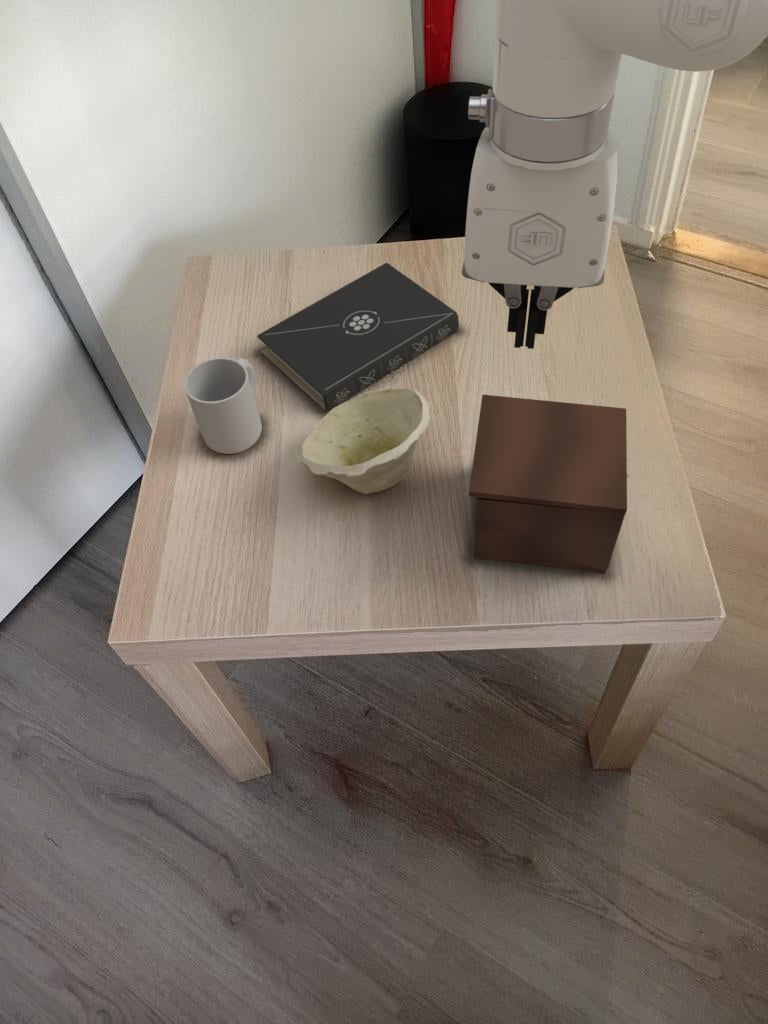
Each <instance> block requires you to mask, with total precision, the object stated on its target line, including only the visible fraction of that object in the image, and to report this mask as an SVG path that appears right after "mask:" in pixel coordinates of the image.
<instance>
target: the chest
mask: <svg viewBox="0 0 768 1024" xmlns="http://www.w3.org/2000/svg"><path fill="white" fill-rule="evenodd" d="M475 511H476V512H475V525H474V526H475V529H474V543H473V559H479V560H480V559H481V560H489V561H498V562H506V563H515V564H524V565H533V566H542V567H551V568H559V569H560V568H561V569H569V570H578V571H586V572H596V573H603V574H606V573H607V571H608V568H609V565H610V562H611V559H612V556H613V553H614V549H615V547H616V545H617V541H618V538H619V535H620V532H621V529H622V527H623V522H624V520H625V518H626V517H625V516H626V514H619V513H610V512H602V511H593V510H584V509H575V508H567V507H558V506H549V505H541V504H532V503H523V502H514V501H506V500H497V499H488V498H480V497H476V510H475Z"/></svg>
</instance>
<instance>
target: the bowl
mask: <svg viewBox="0 0 768 1024" xmlns="http://www.w3.org/2000/svg"><path fill="white" fill-rule="evenodd" d="M431 421H432V418H431V410H430V403H429V401H428V400H427V399H426V398H425V397H424V396H423V395H422V394H421V393H420V392H419V391H417V390H416V389H414V388H409V387H402V388H400V387H397V388H395V389H394V388H386V389H381V390H380V389H379V390H368V391H365V392H363V393H361V394H359V395H357V396H355V397H352V398H350V399H348V400H347V401H345V402H343V403H342V404H340V405H338V406H336V407H335V408H333V409H332V410H331V411H329V412H327V413H326V414H325V415H324V416H323V417H322V418H321V419H320V420H319V422H318V423H316V424H315V425H314V426H313V427H312V429H311V431H310V433H309V434H308V435H307V437H306V438H305V439H304V440H303V444H302V446H301V450H300V452H299V454H298V458H297V462H299V463H300V464H305V465H306V466H308V469H309V470H310V471H311V472H312V474H313V475H321V476H325V477H327V478H331V479H335V480H337V481H338V482H341V483H342V484H344V485H346V486H347V487H349V488H350V489H352V490H353V491H355V492H358V493H361V494H365V495H371V494H374V493H380V492H383V491H385V490H386V489H390V488H392V487H393V486H395V485H396V484H398V483H399V482H400V481H401V480H402V479H403V477H404V476H405V475H406V474H407V472H408V470H409V469H410V467H411V463H412V457H413V455H414V451H415V447H416V445H417V443H418V441H419V438H421V436H422V435H424V434H425V432H426V431H427V430H428V428H429V426H430V425H431Z"/></svg>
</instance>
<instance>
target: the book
mask: <svg viewBox="0 0 768 1024" xmlns="http://www.w3.org/2000/svg"><path fill="white" fill-rule="evenodd" d="M459 326H460V321H459V315H458V312H457V311H456V310H454V309H453V308H451V307H450V306H449V305H447V304H446V303H444V302H443V301H441V300H440V299H439V298H437V297H436V296H434V295H433V294H432V293H430V292H429V291H428V290H426V289H425V288H423V287H422V286H420V285H419V284H418V283H416V282H415V281H414V280H412V279H411V278H410V277H408V276H407V275H406V274H404V273H402V272H401V271H399V270H398V269H397V268H395V267H394V266H392V265H391V264H390V263H388V262H385V263H383V264H381V265H380V266H378V267H376V268H374V269H372V270H371V271H368V272H367V273H365V274H364V275H362V276H360V277H358V278H356V279H355V280H352V281H351V282H349V283H347V284H346V285H344V286H342V287H340V288H339V289H337V290H335V291H333V292H331V293H329V294H327V295H326V296H325V297H323V298H321V299H319V300H318V301H316V302H313V303H312V304H310V305H308V306H307V307H305V308H303V309H301V310H300V311H297V312H296V313H294V314H293V315H290V316H289V317H287V318H285V319H284V320H282V321H280V322H278V323H276V324H275V325H272V327H268V328H267V329H266V330H264V331H262V332H261V333H258V334H257V335H256V337H257V338H258V340H260V342H262V343H263V344H264V345H265V346H266V348H264V349H262V350H261V351H260V353H261V354H262V355H263V356H264V357H265V358H266V359H267V360H268V361H269V362H271V364H273V365H274V366H275V367H276V368H277V369H278V370H279V371H280V372H281V373H282V374H284V375H285V376H286V377H287V378H288V379H289V380H290V381H291V382H292V383H293V384H294V385H295V386H297V387H298V388H299V389H300V390H301V391H302V392H303V393H304V394H305V395H307V397H308V398H310V399H311V400H312V401H313V402H314V403H315V404H316V405H317V406H318V407H320V408H321V409H322V410H323V411H324V412H326V413H329V411H331V410H332V409H333V408H335V407H336V406H338V405H340V404H342V403H345V402H347V401H349V400H351V399H352V398H354V396H355V397H356V395H358V394H359V393H361V392H362V391H364V390H366V389H368V388H369V387H371V386H373V385H374V384H375V383H377V382H378V381H380V380H382V379H384V378H385V377H387V376H389V374H391V373H393V372H395V371H396V370H398V369H399V368H401V367H402V366H404V365H406V364H407V363H409V362H410V361H412V360H414V359H415V358H417V357H418V356H420V355H422V354H424V353H425V352H426V351H428V350H430V349H431V348H433V347H435V346H436V345H437V344H439V343H441V342H442V341H444V340H446V339H447V338H450V336H452V335H454V334H455V333H457V332H458V330H459Z"/></svg>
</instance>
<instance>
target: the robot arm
mask: <svg viewBox="0 0 768 1024" xmlns="http://www.w3.org/2000/svg"><path fill="white" fill-rule="evenodd" d="M495 7H496V9H495V26H494V27H495V28H494V46H493V47H494V48H493V49H494V50H493V66H492V84H491V85H492V86H491V87H492V88H488V90H487V94H486V93H485V94H481V96H472V95H471V96H469V100H468V109H467V119H468V120H471V121H472V120H474V121H475V120H476V121H477V120H478V121H479V123H485V124H484V125H485V127H484V128H483V130H482V132H481V134H480V136H479V137H480V138H479V139H478V142H477V145H476V149H475V153H474V157H473V162H472V166H471V172H470V179H469V188H468V195H467V205H466V206H467V207H466V218H465V219H466V220H465V232H464V248H463V249H464V251H463V252H464V253H463V254H464V258H463V262H462V268H461V275H462V276H463V277H464V278H466V279H469V280H473V281H475V282H476V281H477V282H480V283H488V285H489V286H490V287H491V288H492V289H493V290H495V292H497V294H499V295H500V296H501V297H502V298H503V299H504V300H505V305H506V306H507V307H508V319H507V330H506V332H507V333H515V336H514V338H515V339H514V346H513V348H515V349H521V347H524V346H525V348H527V349H528V350H534V349H535V348H534V347H535V341H536V340H535V339H536V335H545V329H546V322H547V315H548V311H549V310H551V308H552V307H553V304H554V303H555V302H556V301H557V300H559V299H560V298H562V297H563V296H565V295H567V294H568V293H570V292H572V291H573V290H574V289H576V288H577V289H584V288H590V287H598V286H601V285H602V284H604V281H605V267H606V262H607V258H608V252H609V245H610V240H611V233H612V227H613V221H614V220H613V219H614V213H615V212H614V211H615V204H616V196H617V184H618V165H619V164H618V145H617V142H616V141H617V139H616V136H615V134H614V133H615V132H613V130H612V129H611V128H610V127H609V126H610V120H611V115H612V108H613V104H614V98H615V92H616V87H617V81H618V76H619V70H620V64H621V58H622V55H625V56H628V57H631V58H635V59H637V60H641V61H644V62H647V63H650V64H654V65H657V66H660V67H664V68H668V69H673V70H677V71H682V72H683V71H684V72H707V71H715V70H719V69H722V68H726V67H729V66H731V65H733V64H735V63H737V62H739V61H741V60H742V59H744V58H745V57H747V56H748V55H749V54H751V53H752V52H753V51H754V50H755V49H757V48H758V47H759V46H760V45H761V44H762V43H763V41H764V40H765V39H766V38H767V37H768V0H496V6H495ZM528 286H533V288H531V289H529V288H528ZM529 294H530V297H529ZM528 305H529V306H528ZM527 314H528V315H527ZM526 323H527V324H526ZM524 340H525V343H524Z"/></svg>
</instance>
